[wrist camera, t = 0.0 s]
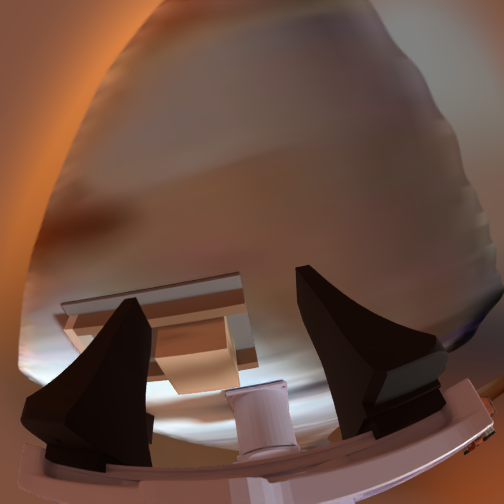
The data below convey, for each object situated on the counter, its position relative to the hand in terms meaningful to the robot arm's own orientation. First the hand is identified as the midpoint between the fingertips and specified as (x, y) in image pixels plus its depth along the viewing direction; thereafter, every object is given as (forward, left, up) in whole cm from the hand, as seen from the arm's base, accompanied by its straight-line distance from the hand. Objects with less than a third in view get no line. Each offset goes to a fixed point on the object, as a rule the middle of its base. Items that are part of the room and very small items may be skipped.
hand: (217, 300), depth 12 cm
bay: (-12, +8, -10) cm, 18 cm away
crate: (-12, +4, -10) cm, 16 cm away
